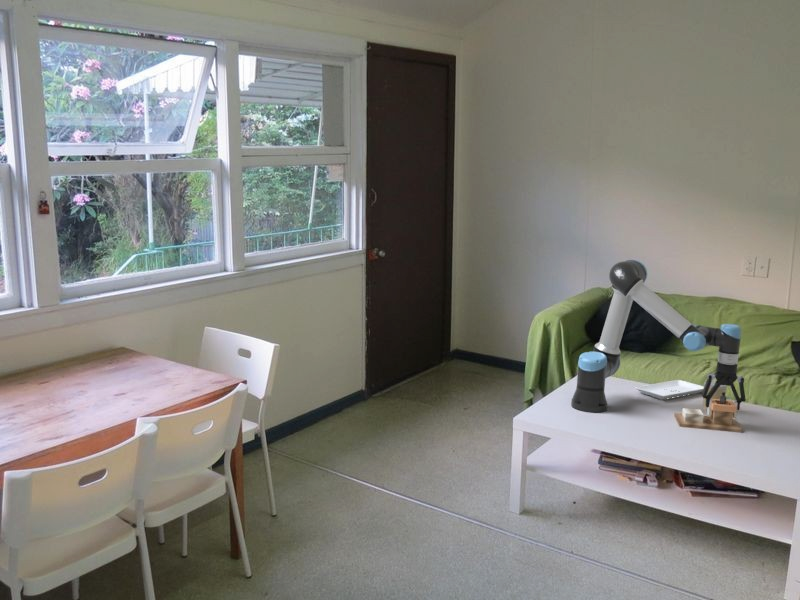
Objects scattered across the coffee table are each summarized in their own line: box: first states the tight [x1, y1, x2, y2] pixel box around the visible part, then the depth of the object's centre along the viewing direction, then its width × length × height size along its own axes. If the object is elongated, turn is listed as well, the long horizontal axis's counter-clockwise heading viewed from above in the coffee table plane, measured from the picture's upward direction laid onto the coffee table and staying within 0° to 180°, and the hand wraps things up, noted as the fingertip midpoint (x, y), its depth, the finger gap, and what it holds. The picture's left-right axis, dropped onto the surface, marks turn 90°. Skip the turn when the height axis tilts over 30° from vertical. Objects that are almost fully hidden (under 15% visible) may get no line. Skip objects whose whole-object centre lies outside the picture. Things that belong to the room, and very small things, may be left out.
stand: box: [673, 395, 744, 433], centre depth 300 cm, size 24×14×12 cm, turn 78°
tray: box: [635, 379, 704, 400], centre depth 343 cm, size 17×32×4 cm, turn 121°
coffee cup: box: [702, 380, 727, 412], centre depth 319 cm, size 9×9×12 cm
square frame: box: [711, 399, 738, 414], centre depth 299 cm, size 9×9×2 cm
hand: (721, 416), depth 299 cm, fingers closed on square frame, 9 cm apart
